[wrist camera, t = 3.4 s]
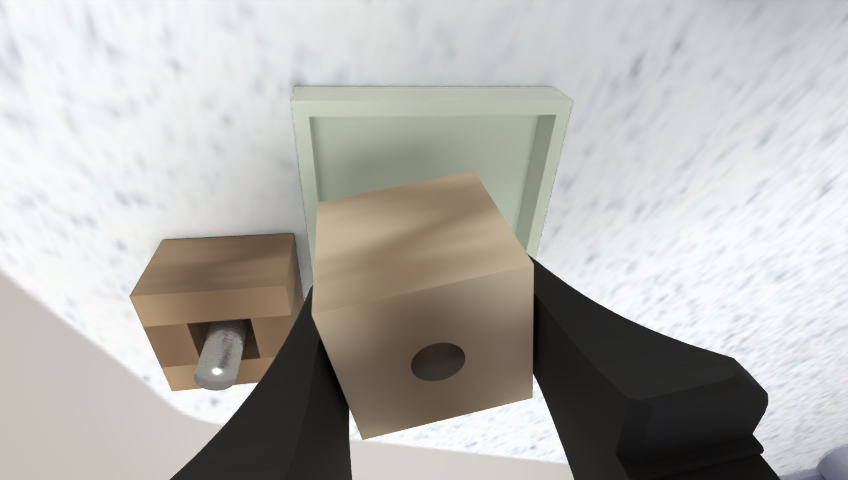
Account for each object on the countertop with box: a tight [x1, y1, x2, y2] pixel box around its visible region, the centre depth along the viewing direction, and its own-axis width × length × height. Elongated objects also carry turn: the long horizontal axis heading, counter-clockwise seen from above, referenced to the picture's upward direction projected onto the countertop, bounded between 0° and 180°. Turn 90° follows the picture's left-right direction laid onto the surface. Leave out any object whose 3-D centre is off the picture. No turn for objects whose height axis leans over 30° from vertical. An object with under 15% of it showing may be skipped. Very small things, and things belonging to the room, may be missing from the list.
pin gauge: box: [194, 318, 250, 391], centre depth 20 cm, size 2×2×6 cm
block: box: [312, 170, 534, 440], centre depth 13 cm, size 5×5×5 cm
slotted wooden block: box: [129, 233, 304, 391], centre depth 21 cm, size 6×6×4 cm
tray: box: [291, 86, 573, 278], centre depth 21 cm, size 11×11×2 cm
